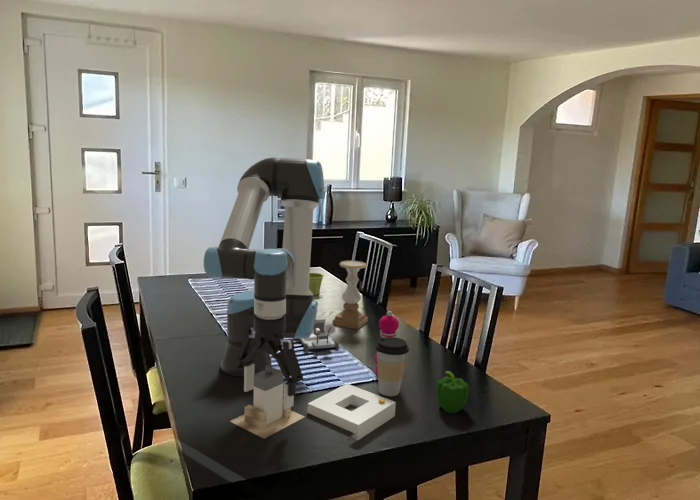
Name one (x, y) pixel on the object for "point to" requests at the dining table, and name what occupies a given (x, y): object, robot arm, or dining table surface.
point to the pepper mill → (387, 328)
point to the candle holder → (351, 299)
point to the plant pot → (315, 282)
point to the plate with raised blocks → (257, 420)
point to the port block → (358, 421)
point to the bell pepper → (452, 393)
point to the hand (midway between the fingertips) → (268, 398)
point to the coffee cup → (390, 364)
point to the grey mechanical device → (320, 336)
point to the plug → (269, 393)
